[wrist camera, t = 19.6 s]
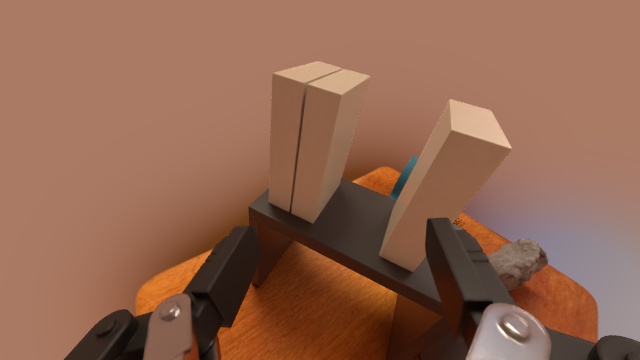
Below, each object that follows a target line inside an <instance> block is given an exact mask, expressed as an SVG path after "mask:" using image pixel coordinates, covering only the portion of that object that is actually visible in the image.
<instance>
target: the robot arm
mask: <svg viewBox="0 0 640 360" xmlns="http://www.w3.org/2000/svg"><path fill="white" fill-rule="evenodd" d="M425 252H426V257H427V261H428V264H429V267H430V270H431V273H432V276H433V279H434V282H435V285H436V288H437V291H438V294H439V297H440V300H441V303H442V306H443V309H444V312H445V315H446V318H447V321H448V324H449V327H450V330H451V333H452V336H453V339H454V342H455V343H461V344H466V346H467V349H468V354H467V357H466V360H640V342H638V341H635V340H633V339H629V338H626V337H622V336H611V335H610V336H605V337H602V338H601V339H600V340H599V341H598V342H597V343H593V342H590V341H586V340H583V339H580V338H577V337H573V336H570V335H567V334H563V333H560V332H557V331H554V330H552V329H549V328H547V327H545V326H543V325H542V324H541V323H540V322H539V321H538V320H537V319H536V318H535V317H534V316H532V315H531V314H530V313H528V312H527V311H525V310H523V309H521V308H519V307H518V305H517V304H516V303H515V301H514V300H513V298H512V296H511V295H510V293H509V292H508V290H507V288H506V287H505V285H504V283H503V282H502V280H501V279H500V277H499V275H498V274H497V272H496V271H495V269H494V267H493V266H492V264H491V263H489V259H488V258H487V256H486V255H485V253H483V250H482V248H481V247H480V245H479V243H478V242H477V240H476V239H475V238H474V237H473V236H471V235H470V234H469V233H468V232H466V231H465V230H455V229H454V227H453V225H452V223H451V221H450V220H449V218H447V217H446V218H428V219H427V224H426V238H425ZM262 255H263V249H262V246H261V243H260V241H259V238H258V236H257V233H256V231H255V228H254V227H253V226H252V225H241V226H240V225H238V226H235V227H234V229H233V230H232V231H231V233H230V234H229V236H227V237H225V238H224V239H223V240H222V241H220V242H219V243H218V244H217V245H216V246H215V248H214V249H213V251H212V252H211V255H209V256H208V258H207V259H206V260H205V263H203V265H202V266H201V267H200V269H199V270H198V272H197V273H196V274H195V276H194V277H193V279H192V280H191V281H190V283H189V284H188V286H187V287H186V289H185V290H184V291H183V293H181V294H176V295H174V296H171V297H169V298H168V299H166V300H165V301H163V302H162V303H161V304H160V305H159V306H158V307H157V308H156V309H155V311H153V312H150V313H147V314H143V315H140V316H136V317H134V316H133V315H132V314H131V313H130V312H129V311H128V310H124V309H123V310H118V311H115V312H113V313H111V314H109V315H108V316H106V317H104V318H103V319H102V320H100V321H99V322H98V323H97V324H96V325H95V326H94V327H93V328H92V329H91V330H90V331H89V332H88V333H87V334H86V336H85V337H84V338H83V339H82V340H81V341H80V342H79V343H78V344H77V346H76V347H75V348H74V349H73V350H72V351H71V352H70V353H69V354H68V356H67V357H66V358H65V359H64V360H221V353H220V345H219V338H218V335H217V333H218V330H219V328H220V327H228V328H231V326H232V324H233V322H234V320H235V317H236V315H237V313H238V311H239V309H240V306H241V304H242V302H243V300H244V297H245V295H246V293H247V291H248V289H249V286H250V284H251V282H252V280H253V277H254V275H255V273H256V271H257V269H258V266H259V264H260V262H261V260H262Z"/></svg>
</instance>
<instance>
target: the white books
mask: <svg viewBox="0 0 640 360" xmlns="http://www.w3.org/2000/svg"><path fill="white" fill-rule="evenodd" d="M272 79H273V80H272V108H271V109H272V111H271V138H270V169H269V199H268V202H269V203H271V204H273V205H275V206H277V207H279V208H281V209H283V210H285V211H288V212H290V211H291V209H292V211H291V213H292V214H294V215H296V216H298V217H300V218H302V219H304V220H306V221H308V222H310V223H312V224H313V223H314V222H315V220H316V219H317V217H318V216H319V214H320V213H321V211H322V210H323V208H324V207H325V205H326V204H327V203H328V201H329V200H330V198H331V197H332V195H333V194H334V192H335V191H336V189H337V188H338V186H339V185H340V181H341V178H342V174H343V171H344V167H345V164H346V161H347V157H348V153H349V150H350V146H351V143H352V140H353V136H354V133H355V129H356V126H357V122H358V119H359V115H360V112H361V108H362V105H363V101H364V98H365V94H366V91H367V87H368V83H369V80H370V76H367V75H364V74H361V73H357V72H354V71H350V70H347V69H343V70H342V68H340V67H337V66H333V65H330V64H326V63H322V62H319V61H317V62H313V63H309V64H306V65H302V66H298V67H294V68H290V69H286V70H282V71H279V72H275V73H273V78H272Z"/></svg>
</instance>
